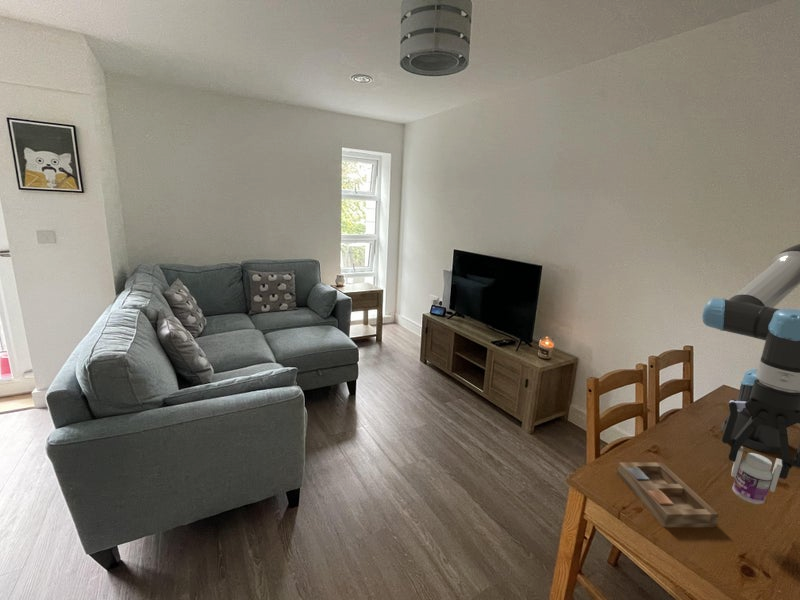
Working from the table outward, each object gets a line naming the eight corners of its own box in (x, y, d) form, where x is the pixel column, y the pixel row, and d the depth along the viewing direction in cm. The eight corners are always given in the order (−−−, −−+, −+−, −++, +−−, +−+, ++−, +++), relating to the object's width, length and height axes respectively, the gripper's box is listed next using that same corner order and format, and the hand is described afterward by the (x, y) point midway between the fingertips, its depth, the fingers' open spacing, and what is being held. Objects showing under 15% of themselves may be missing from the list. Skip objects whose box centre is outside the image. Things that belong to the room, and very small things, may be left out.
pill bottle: (725, 487, 83) (735, 450, 81) (746, 486, 84) (757, 450, 81) (748, 506, 78) (760, 467, 76) (771, 505, 78) (784, 466, 76)
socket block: (659, 473, 100) (662, 461, 99) (715, 527, 83) (719, 512, 82) (617, 473, 100) (619, 461, 99) (664, 527, 83) (667, 512, 82)
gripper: (720, 376, 78) (697, 469, 84) (853, 408, 66) (816, 514, 71) (722, 366, 83) (700, 453, 89) (845, 393, 71) (811, 493, 77)
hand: (752, 480), depth 80 cm, fingers closed on pill bottle, 5 cm apart
